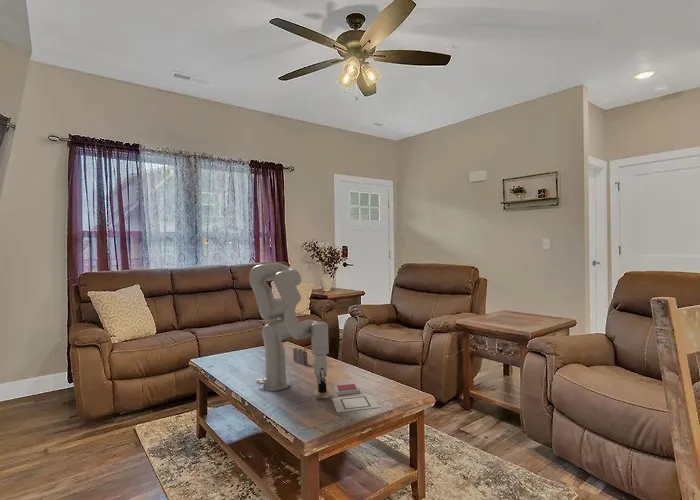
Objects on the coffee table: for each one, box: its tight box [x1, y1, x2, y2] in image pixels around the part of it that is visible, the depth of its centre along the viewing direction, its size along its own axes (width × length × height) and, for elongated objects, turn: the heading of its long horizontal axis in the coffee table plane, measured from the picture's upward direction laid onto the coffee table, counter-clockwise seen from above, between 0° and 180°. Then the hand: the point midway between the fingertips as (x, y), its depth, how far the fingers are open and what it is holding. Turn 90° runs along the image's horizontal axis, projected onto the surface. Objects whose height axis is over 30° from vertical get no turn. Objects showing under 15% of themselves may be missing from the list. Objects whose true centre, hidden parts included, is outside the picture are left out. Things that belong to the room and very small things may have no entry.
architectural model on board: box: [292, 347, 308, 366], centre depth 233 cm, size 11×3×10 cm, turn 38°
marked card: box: [331, 393, 380, 414], centre depth 171 cm, size 18×14×1 cm
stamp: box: [314, 375, 330, 401], centre depth 180 cm, size 6×6×10 cm
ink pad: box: [334, 383, 360, 396], centre depth 186 cm, size 10×8×2 cm
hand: (321, 388), depth 180 cm, fingers open, 7 cm apart
